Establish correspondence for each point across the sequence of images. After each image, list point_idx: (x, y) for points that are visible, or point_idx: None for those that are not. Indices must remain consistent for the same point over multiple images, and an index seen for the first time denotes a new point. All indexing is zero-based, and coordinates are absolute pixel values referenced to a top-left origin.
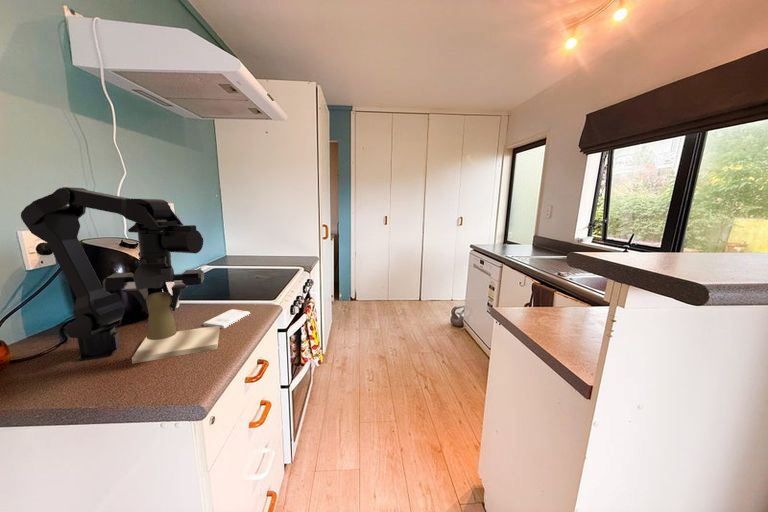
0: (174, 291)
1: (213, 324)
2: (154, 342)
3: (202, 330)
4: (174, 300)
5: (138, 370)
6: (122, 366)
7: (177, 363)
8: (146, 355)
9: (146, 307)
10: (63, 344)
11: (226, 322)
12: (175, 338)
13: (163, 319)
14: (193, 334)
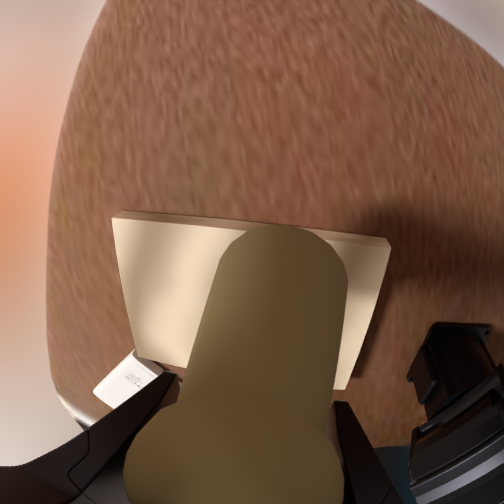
0: (41, 493)
1: None
2: None
3: (181, 351)
4: (111, 431)
5: (364, 171)
6: (411, 234)
7: (237, 157)
8: (346, 243)
9: (345, 441)
10: None
11: (129, 369)
12: None
13: (237, 307)
14: None
